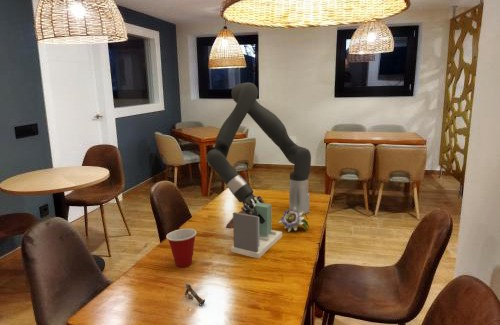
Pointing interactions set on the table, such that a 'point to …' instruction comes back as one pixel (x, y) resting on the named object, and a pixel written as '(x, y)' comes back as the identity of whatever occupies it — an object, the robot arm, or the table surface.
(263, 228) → the green book
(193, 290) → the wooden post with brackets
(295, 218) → the passion flower
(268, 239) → the book rack
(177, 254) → the plastic cup
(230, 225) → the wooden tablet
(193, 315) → the table surface
